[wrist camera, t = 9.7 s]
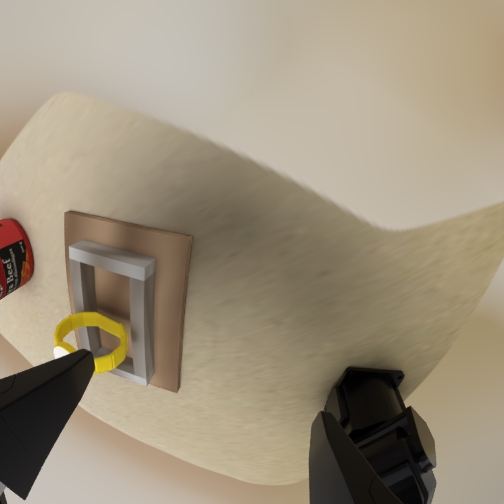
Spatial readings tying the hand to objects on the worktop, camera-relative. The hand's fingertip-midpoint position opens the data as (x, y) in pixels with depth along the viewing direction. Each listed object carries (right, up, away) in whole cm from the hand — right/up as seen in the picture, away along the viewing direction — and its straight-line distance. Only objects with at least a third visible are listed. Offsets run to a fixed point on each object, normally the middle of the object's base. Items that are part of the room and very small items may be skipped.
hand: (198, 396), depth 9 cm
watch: (-10, -1, +11) cm, 15 cm away
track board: (-10, 0, +14) cm, 17 cm away
